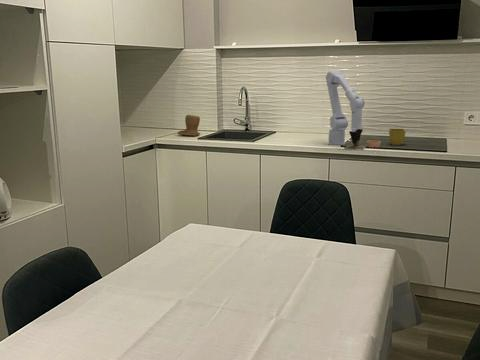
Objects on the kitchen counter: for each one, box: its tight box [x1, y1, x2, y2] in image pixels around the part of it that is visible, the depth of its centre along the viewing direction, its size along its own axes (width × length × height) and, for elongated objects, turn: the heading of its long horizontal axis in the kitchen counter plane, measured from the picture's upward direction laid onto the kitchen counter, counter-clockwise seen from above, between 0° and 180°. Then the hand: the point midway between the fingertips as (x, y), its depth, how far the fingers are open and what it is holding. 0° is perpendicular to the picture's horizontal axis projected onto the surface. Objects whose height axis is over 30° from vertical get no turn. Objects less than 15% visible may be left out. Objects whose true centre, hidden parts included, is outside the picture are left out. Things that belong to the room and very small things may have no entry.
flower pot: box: [388, 128, 407, 146], centre depth 291 cm, size 9×9×9 cm
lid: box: [347, 140, 364, 148], centre depth 283 cm, size 9×9×4 cm
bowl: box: [366, 139, 382, 148], centre depth 286 cm, size 8×8×3 cm
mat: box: [343, 144, 368, 151], centre depth 284 cm, size 11×11×1 cm
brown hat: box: [176, 114, 201, 137], centre depth 344 cm, size 15×12×15 cm
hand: (355, 142), depth 283 cm, fingers open, 7 cm apart
